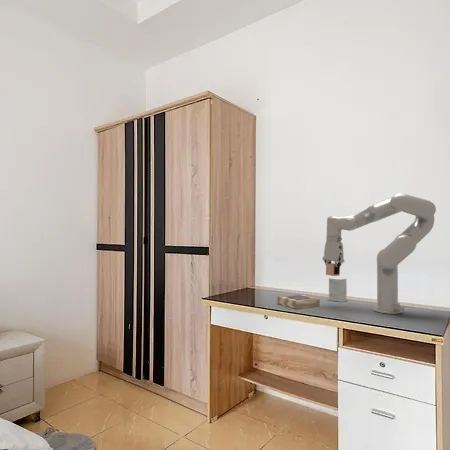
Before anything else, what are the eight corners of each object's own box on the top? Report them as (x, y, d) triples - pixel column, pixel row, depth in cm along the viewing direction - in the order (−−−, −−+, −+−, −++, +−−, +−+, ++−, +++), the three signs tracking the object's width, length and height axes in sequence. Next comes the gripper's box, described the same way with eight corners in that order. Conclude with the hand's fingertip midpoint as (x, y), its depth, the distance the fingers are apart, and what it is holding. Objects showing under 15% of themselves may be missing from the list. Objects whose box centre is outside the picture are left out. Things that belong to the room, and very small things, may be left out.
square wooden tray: (319, 306, 195) (319, 298, 195) (296, 309, 187) (296, 300, 187) (299, 301, 209) (299, 293, 209) (277, 303, 201) (277, 296, 201)
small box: (346, 301, 210) (346, 278, 211) (340, 302, 206) (340, 279, 206) (334, 299, 217) (334, 277, 217) (328, 300, 212) (328, 278, 213)
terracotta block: (339, 275, 192) (339, 264, 192) (332, 275, 190) (333, 264, 190) (332, 274, 196) (332, 263, 196) (325, 274, 194) (326, 263, 194)
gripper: (351, 240, 188) (350, 275, 187) (327, 239, 202) (326, 271, 202) (340, 240, 184) (339, 276, 184) (317, 238, 199) (316, 271, 199)
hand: (332, 273), depth 193 cm, fingers closed on terracotta block, 5 cm apart
